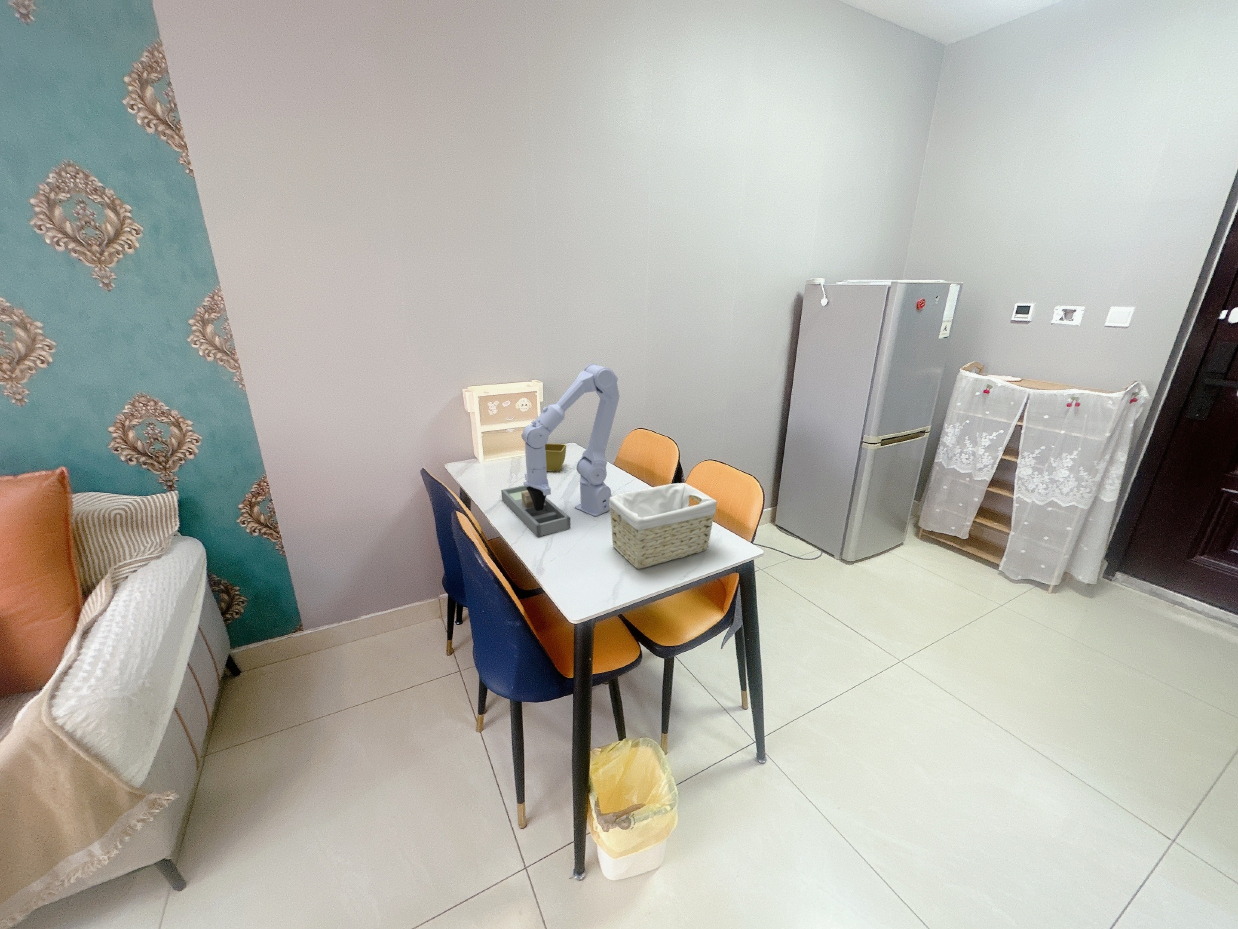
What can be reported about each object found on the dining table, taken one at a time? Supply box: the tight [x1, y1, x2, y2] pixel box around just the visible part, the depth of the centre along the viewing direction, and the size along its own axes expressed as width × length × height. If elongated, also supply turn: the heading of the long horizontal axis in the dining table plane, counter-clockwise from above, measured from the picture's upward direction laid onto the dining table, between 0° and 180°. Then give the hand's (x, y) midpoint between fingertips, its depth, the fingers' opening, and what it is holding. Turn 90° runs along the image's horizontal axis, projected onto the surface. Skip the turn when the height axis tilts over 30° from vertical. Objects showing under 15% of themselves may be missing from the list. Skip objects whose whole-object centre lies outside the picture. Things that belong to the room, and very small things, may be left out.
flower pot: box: [545, 443, 567, 473], centre depth 183 cm, size 9×9×9 cm
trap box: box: [500, 484, 571, 538], centre depth 147 cm, size 30×10×4 cm, turn 32°
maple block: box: [521, 490, 534, 508], centre depth 149 cm, size 4×4×4 cm
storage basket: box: [609, 482, 718, 569], centre depth 125 cm, size 24×16×15 cm
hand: (539, 509), depth 143 cm, fingers closed
